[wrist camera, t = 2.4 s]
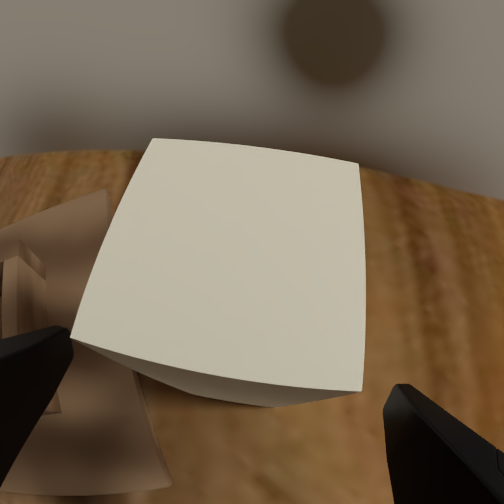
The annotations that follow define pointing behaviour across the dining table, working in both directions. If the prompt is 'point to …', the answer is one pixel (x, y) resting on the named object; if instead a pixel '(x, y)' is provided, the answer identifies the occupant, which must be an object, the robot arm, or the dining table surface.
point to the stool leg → (234, 274)
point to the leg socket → (74, 364)
